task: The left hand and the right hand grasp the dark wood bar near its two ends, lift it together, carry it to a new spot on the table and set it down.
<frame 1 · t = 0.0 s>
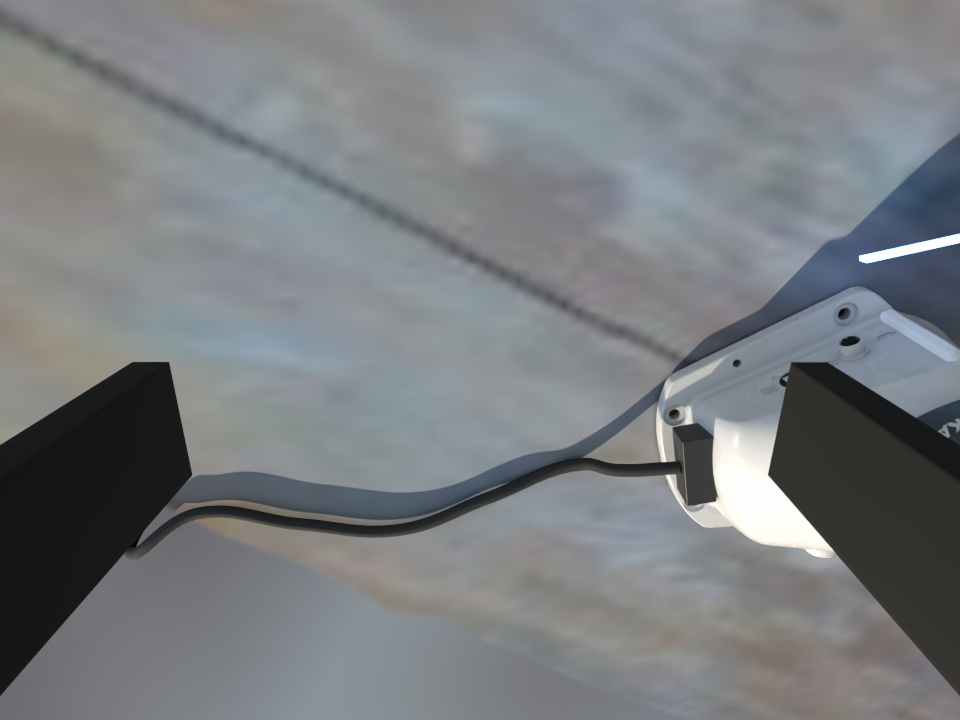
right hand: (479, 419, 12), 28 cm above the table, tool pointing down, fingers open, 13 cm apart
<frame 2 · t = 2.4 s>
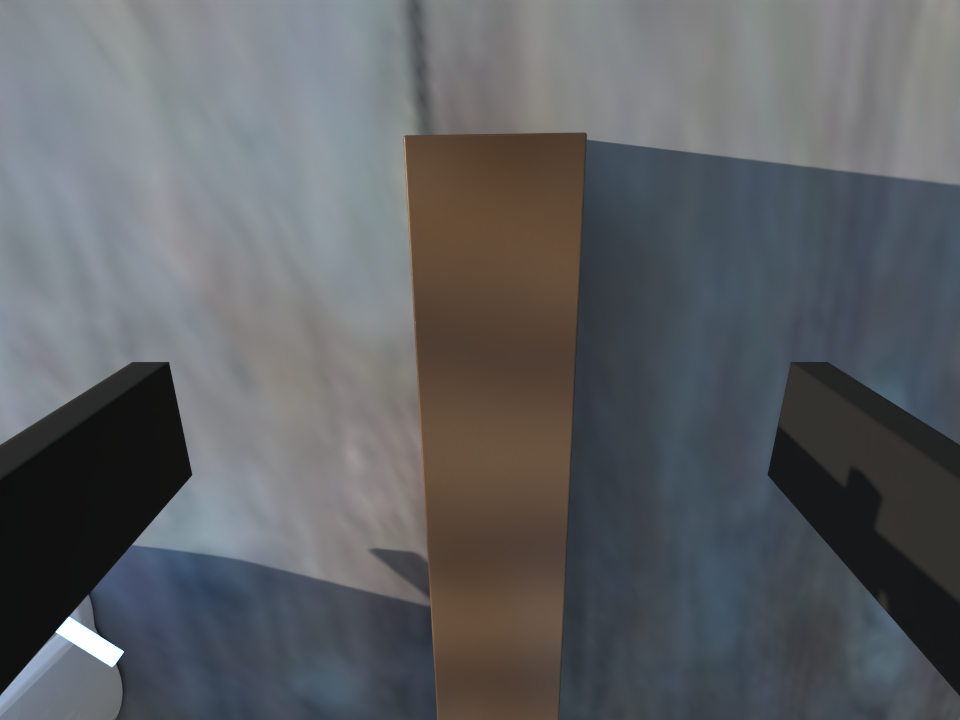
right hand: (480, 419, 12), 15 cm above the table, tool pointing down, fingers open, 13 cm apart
bar: (494, 680, 36), on the table
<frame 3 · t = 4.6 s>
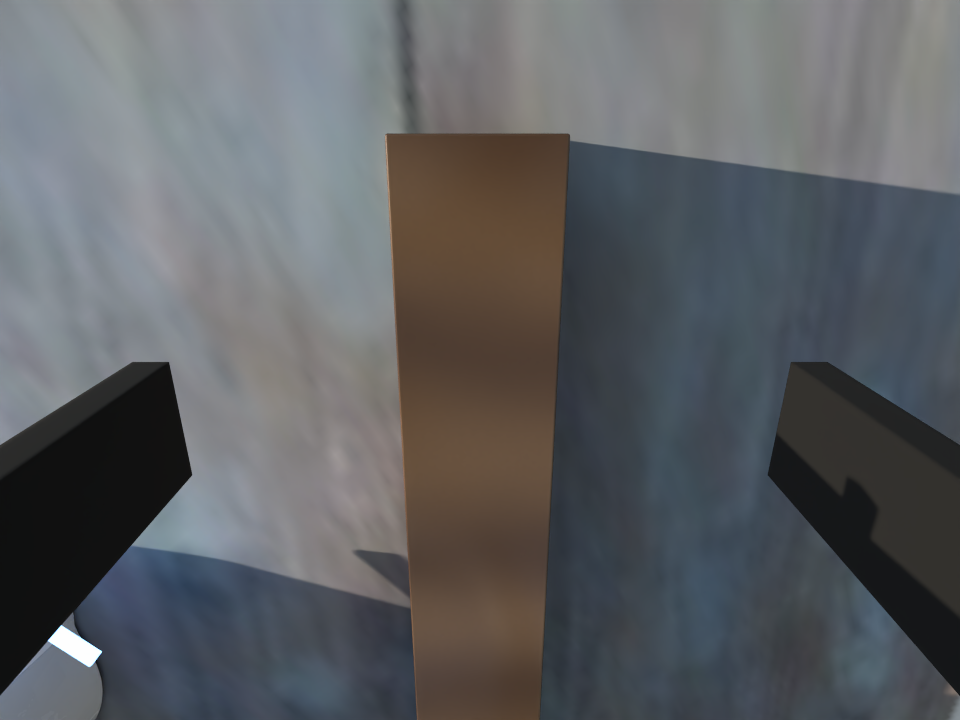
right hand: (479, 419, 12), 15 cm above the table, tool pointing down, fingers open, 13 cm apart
bar: (478, 684, 36), on the table, touching left hand
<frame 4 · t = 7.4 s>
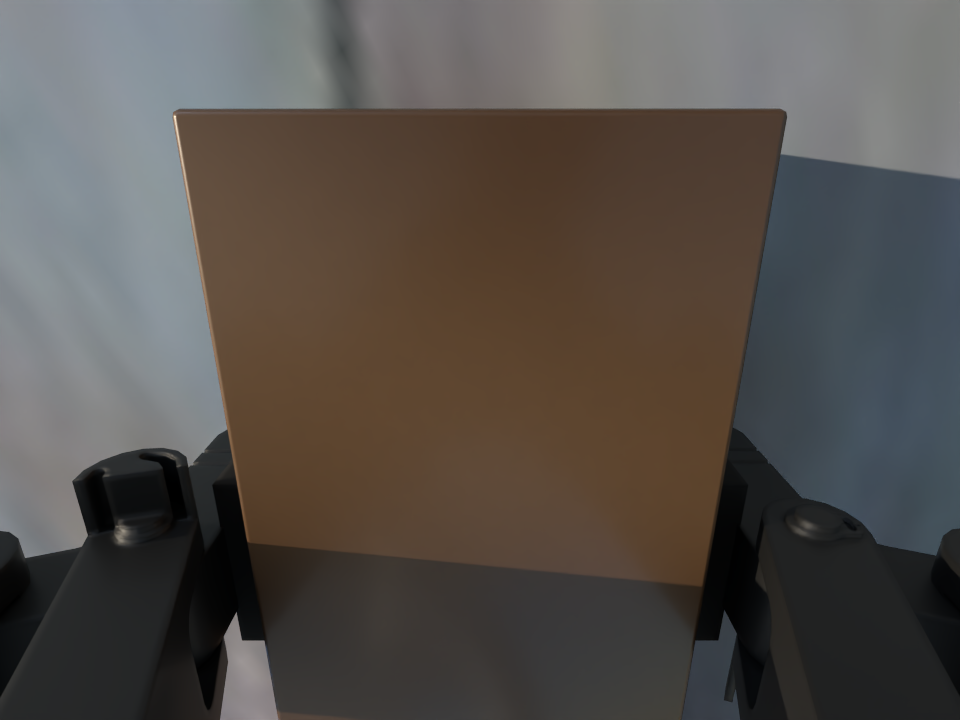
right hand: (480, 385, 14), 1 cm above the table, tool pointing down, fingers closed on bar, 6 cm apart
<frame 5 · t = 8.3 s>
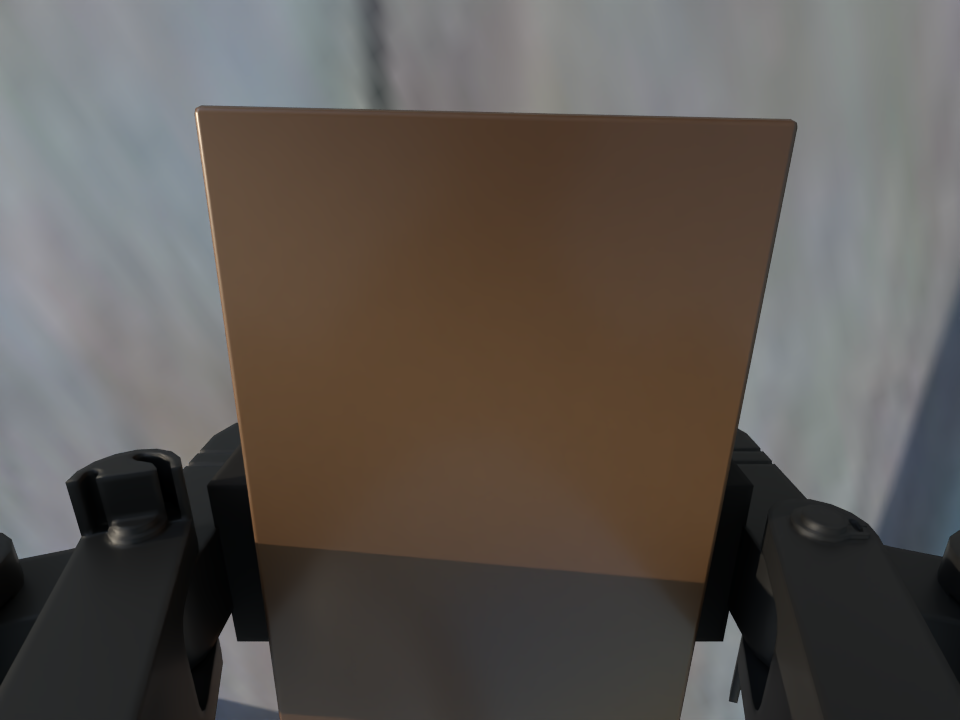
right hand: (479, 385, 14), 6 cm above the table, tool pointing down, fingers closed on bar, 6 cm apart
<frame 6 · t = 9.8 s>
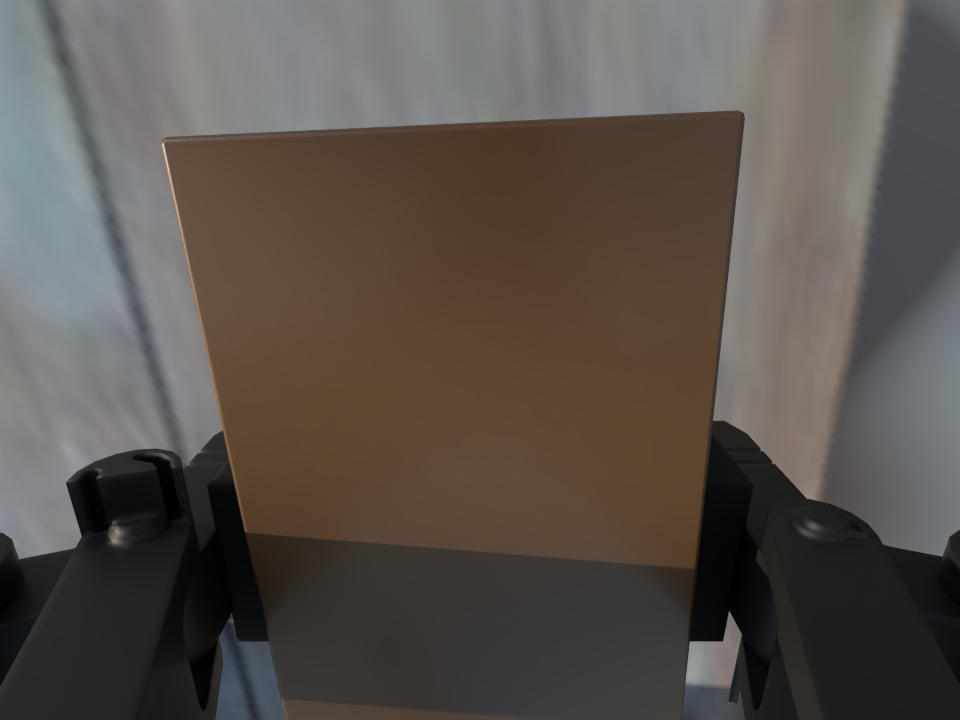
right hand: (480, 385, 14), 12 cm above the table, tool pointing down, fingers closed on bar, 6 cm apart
when the right hand's fingers open (2 cm above the table, at t = 12.1 s): bar drops 1 cm, on the table.
when the left hand's fingers open (4 cm above the table, at t = 12.3 s): bar stays where it is, on the table.
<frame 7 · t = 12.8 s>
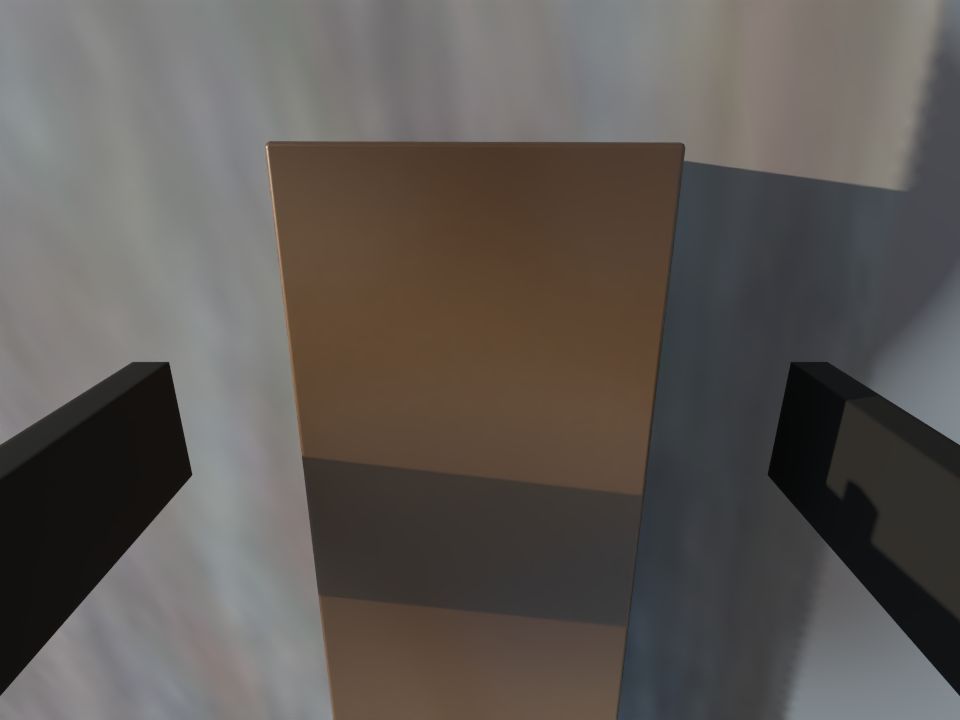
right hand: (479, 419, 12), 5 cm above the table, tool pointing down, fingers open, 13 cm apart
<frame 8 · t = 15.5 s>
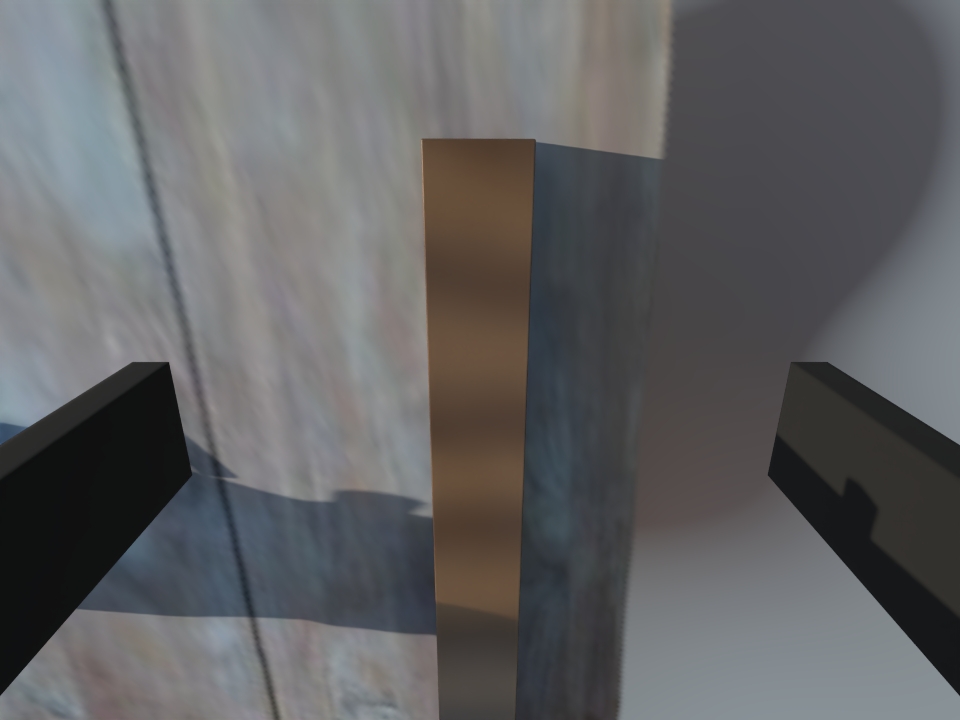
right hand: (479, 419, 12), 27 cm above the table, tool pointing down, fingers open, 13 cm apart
bar: (477, 561, 47), on the table
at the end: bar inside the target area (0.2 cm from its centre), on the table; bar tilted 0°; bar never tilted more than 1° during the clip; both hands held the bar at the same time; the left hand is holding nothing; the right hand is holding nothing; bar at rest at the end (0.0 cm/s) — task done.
